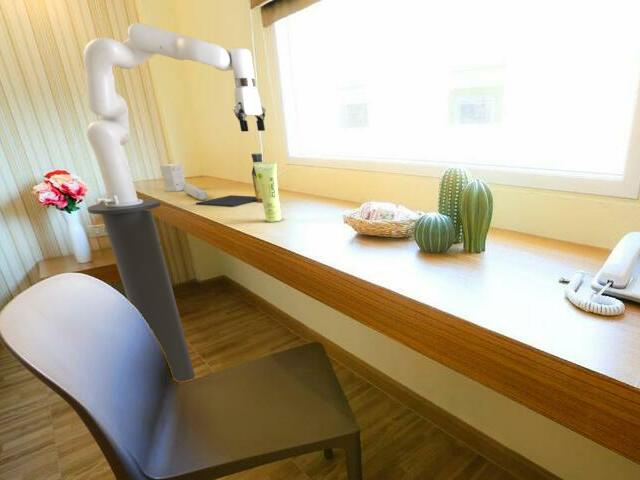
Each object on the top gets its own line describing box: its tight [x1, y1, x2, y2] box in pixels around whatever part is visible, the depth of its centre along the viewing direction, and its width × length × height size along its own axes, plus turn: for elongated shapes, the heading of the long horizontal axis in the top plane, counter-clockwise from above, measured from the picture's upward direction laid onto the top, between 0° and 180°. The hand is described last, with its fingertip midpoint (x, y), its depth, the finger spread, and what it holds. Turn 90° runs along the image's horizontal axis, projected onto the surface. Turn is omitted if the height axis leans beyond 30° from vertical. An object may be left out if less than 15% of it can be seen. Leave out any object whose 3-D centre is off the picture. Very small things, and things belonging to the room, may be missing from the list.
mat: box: [195, 194, 258, 208], centre depth 171 cm, size 20×20×1 cm
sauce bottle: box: [251, 152, 263, 203], centre depth 167 cm, size 7×6×20 cm
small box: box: [159, 163, 187, 193], centre depth 203 cm, size 8×6×13 cm
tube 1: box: [182, 183, 208, 201], centre depth 182 cm, size 5×5×25 cm
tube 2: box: [252, 160, 282, 223], centre depth 131 cm, size 6×5×20 cm
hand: (253, 131), depth 160 cm, fingers open, 9 cm apart
